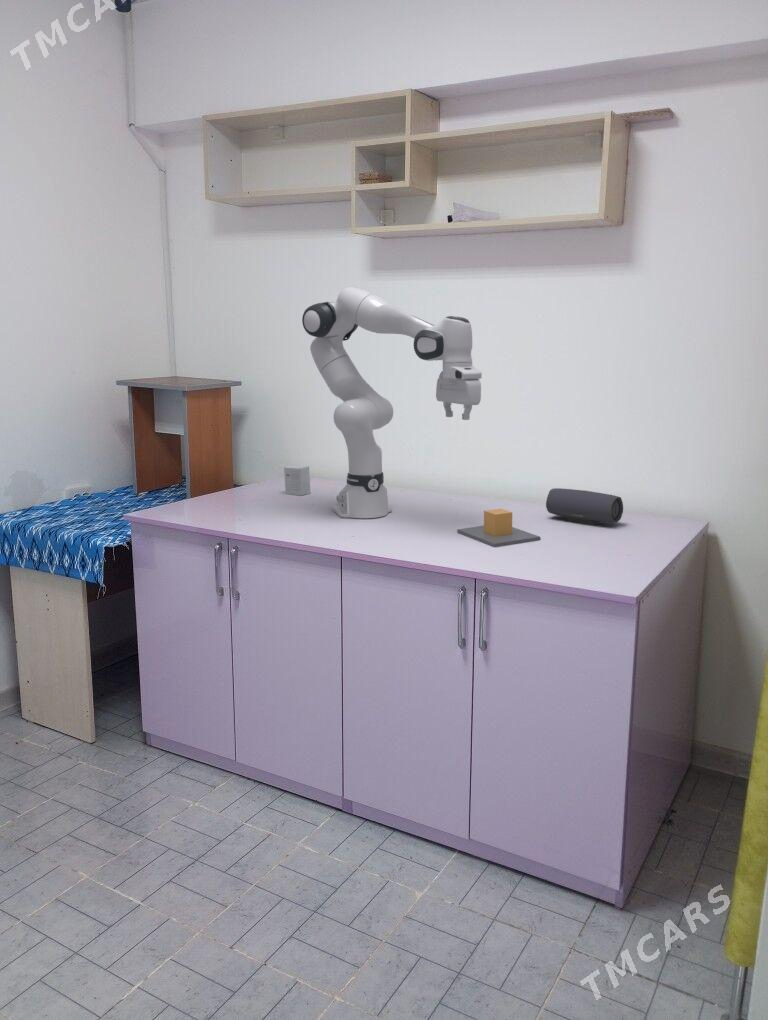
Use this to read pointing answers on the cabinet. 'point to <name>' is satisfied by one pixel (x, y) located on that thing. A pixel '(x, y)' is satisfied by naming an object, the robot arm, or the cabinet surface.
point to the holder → (497, 541)
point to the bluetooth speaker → (584, 506)
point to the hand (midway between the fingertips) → (457, 418)
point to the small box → (297, 480)
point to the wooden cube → (498, 522)
